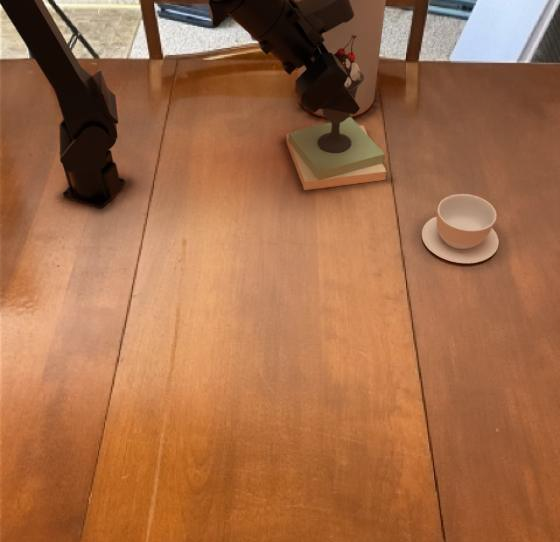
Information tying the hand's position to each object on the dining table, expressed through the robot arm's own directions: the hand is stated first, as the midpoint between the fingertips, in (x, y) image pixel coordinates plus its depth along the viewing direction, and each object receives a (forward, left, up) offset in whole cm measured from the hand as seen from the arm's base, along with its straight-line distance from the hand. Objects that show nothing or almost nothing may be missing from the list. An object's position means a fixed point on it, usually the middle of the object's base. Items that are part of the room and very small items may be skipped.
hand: (347, 92), depth 93 cm
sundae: (-1, -1, -8) cm, 8 cm away
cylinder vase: (-7, +15, -11) cm, 20 cm away
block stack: (-1, -1, -11) cm, 11 cm away
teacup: (+20, -11, -11) cm, 25 cm away
